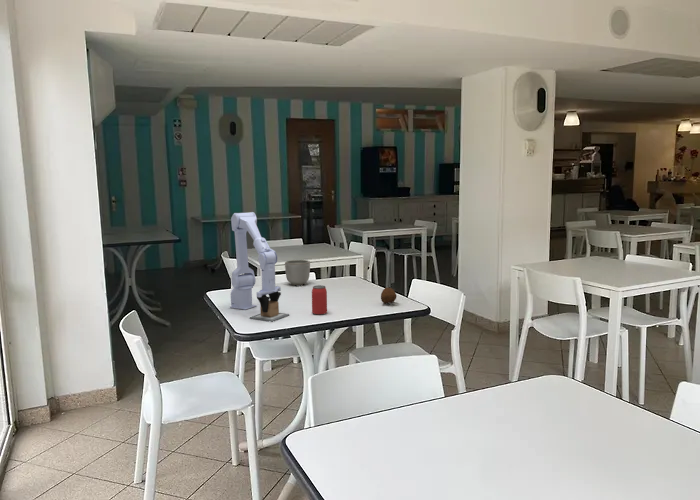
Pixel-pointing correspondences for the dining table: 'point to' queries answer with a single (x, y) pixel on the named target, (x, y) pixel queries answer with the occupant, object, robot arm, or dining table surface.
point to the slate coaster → (265, 318)
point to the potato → (388, 295)
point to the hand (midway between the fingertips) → (269, 310)
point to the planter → (297, 271)
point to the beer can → (319, 300)
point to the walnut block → (271, 309)
